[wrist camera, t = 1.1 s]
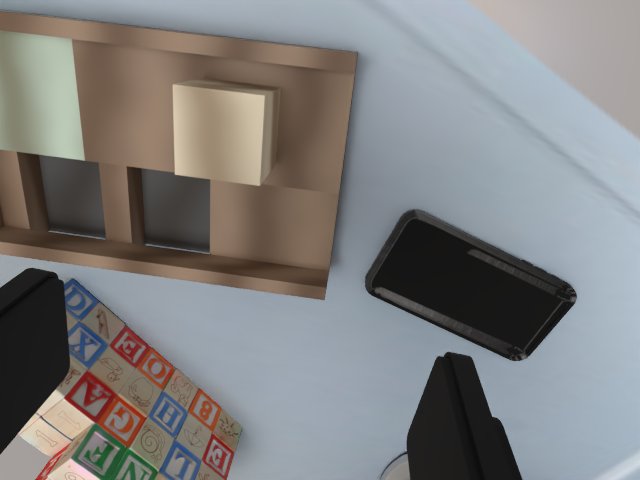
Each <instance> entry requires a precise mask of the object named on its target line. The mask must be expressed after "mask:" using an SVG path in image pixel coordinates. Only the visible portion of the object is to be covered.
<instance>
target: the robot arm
mask: <svg viewBox="0 0 640 480" xmlns="http://www.w3.org/2000/svg"><path fill="white" fill-rule="evenodd" d="M69 368H70V354H69V341H68V328H67V316H66V303H65V290H64V283H63V281H62V280H59V279H58V276H57V274H56V273H54V272H50V271H45V270H40V269H35V268H28V269H26V270H24V271H23V272H22V273H20V274H19V275H17V276H16V277H15V278H13V279H12V280H10V281H9V282H8V283H6V284H5V285H3V286H2V287H1V288H0V454H1V453H2V452H3V450H4V449H5V448H6V447H7V446H8V445H9V443H10V442H11V441H12V440H13V439H14V438H15V436H16V435H17V434H18V433H19V432H20V431H21V429H22V428H23V427H24V426H25V425H26V424H27V422H28V421H29V420H30V419H31V418H32V416H33V415H34V414H35V413H36V412H37V411H38V409H39V408H40V407H41V406H42V405H43V404H44V402H45V401H46V400H47V399H48V398H49V396H50V395H51V394H52V393H53V392H54V391H55V389H56V388H57V387H58V386H59V385H60V384H61V382H62V381H63V380H64V379H65V377H66V376H67V374H68V371H69ZM381 480H522V478H521V475H520V472H519V469H518V466H517V464H516V461H515V458H514V455H513V452H512V449H511V447H510V444H509V441H508V438H507V435H506V433H505V430H504V427H503V425H502V423H501V421H500V420H499V419H498V418H495V417H492V415H491V412H490V409H489V406H488V403H487V400H486V397H485V394H484V392H483V389H482V386H481V383H480V380H479V377H478V374H477V371H476V368H475V365H474V362H473V359H472V357H470V356H466V355H461V354H456V353H451V352H447V353H446V354H445V355H444V357H441V356H438V357H437V358H436V360H435V363H434V365H433V368H432V371H431V373H430V376H429V379H428V381H427V384H426V387H425V389H424V392H423V395H422V397H421V400H420V403H419V405H418V408H417V410H416V413H415V416H414V418H413V421H412V424H411V426H410V429H409V432H408V436H407V454H405V455H403V456H401V457H400V458H398V459H397V460H395V461H394V462H393V463H392V464H391V465H390V466H389V467H388V468H387V469H386V470H385V472H384V473H383V475H382V477H381Z"/></svg>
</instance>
